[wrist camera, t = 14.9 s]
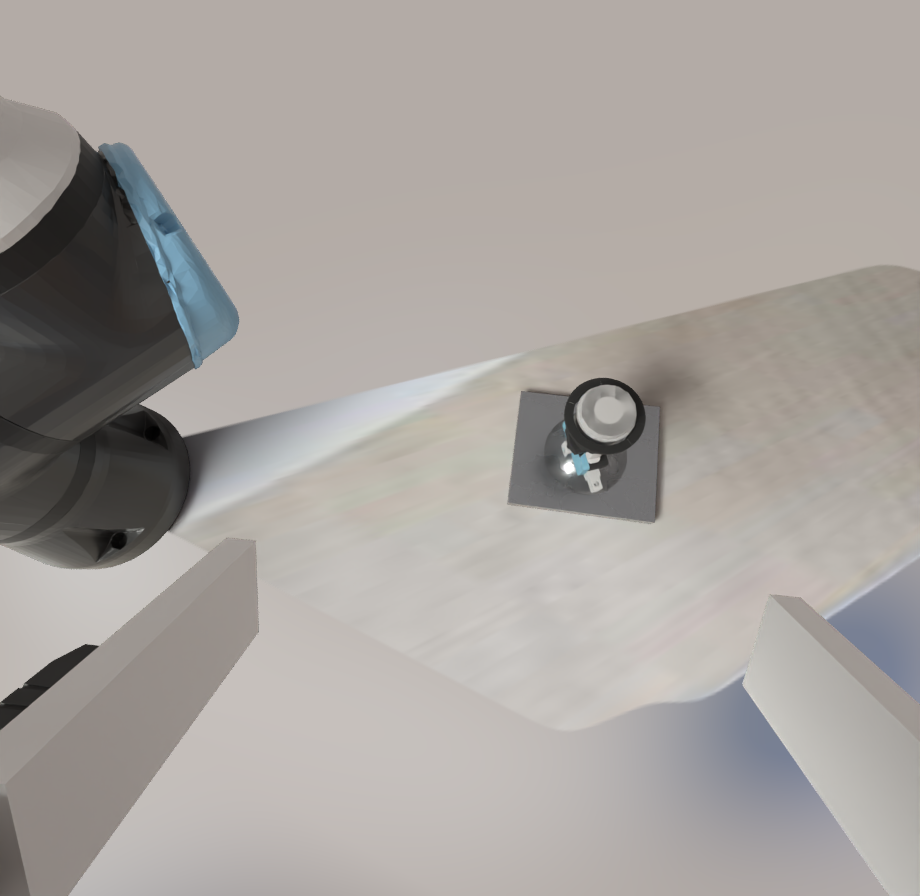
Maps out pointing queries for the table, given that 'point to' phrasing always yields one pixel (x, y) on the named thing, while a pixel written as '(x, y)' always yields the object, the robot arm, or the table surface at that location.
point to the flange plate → (555, 478)
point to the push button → (600, 425)
